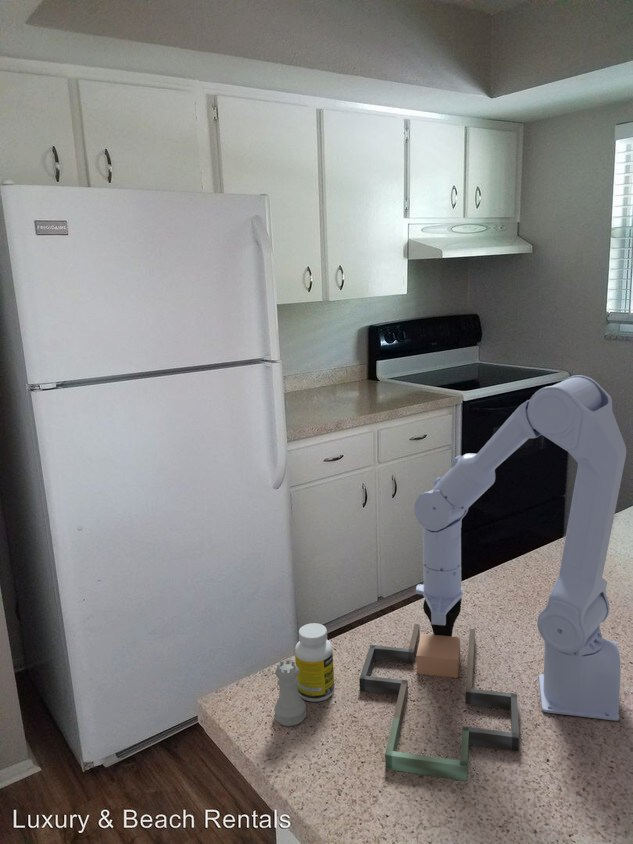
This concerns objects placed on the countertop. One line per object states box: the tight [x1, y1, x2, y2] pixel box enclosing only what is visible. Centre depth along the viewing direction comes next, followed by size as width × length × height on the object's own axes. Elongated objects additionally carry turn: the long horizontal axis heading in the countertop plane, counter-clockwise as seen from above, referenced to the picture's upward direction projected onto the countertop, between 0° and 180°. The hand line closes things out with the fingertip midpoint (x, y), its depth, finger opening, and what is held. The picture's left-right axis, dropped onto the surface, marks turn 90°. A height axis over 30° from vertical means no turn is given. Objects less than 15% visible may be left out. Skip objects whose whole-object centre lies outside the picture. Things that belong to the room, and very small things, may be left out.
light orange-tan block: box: [415, 633, 461, 679], centre depth 98 cm, size 6×6×3 cm
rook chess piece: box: [273, 659, 308, 727], centre depth 88 cm, size 4×4×8 cm
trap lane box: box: [358, 623, 520, 782], centre depth 91 cm, size 22×30×2 cm
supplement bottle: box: [294, 622, 335, 703], centre depth 92 cm, size 5×5×10 cm
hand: (443, 642), depth 102 cm, fingers closed
